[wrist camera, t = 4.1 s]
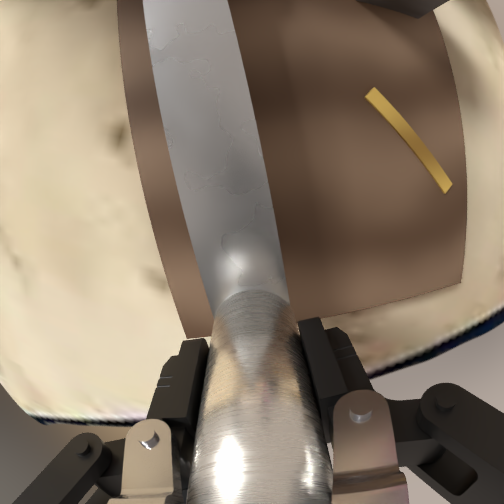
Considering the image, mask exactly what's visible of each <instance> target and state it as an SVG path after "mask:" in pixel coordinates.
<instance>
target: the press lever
mask: <svg viewBox="0 0 504 504" xmlns="http://www.w3.org/2000/svg"><path fill="white" fill-rule="evenodd" d="M143 7H144V15H145V23H146V30H147V37H148V44H149V50H150V57H151V63H152V69H153V74H154V80H155V86H156V91H157V96H158V102H159V107H160V112H161V117H162V122H163V127H164V131H165V136H166V141H167V145H168V150H169V154H170V159H171V163H172V168H173V172H174V176H175V180H176V185H177V189H178V193H179V197H180V201H181V205H182V209H183V213H184V216H185V220H186V224H187V228H188V232H189V235H190V239H191V243H192V246H193V250H194V254H195V257H196V261H197V264H198V268H199V271H200V275H201V278H202V281H203V285H204V288H205V291H206V295H207V298H208V301H209V305H210V308H211V311H212V314H213V317H214V324H213V330H212V336H211V342H210V347H209V353H208V359H207V365H206V371H205V377H204V383H203V389H202V396H201V402H200V408H199V415H198V421H197V428H196V435H195V441H194V448H193V455H192V462H191V470H190V477H189V484H188V492H187V500H186V504H332V485H333V469H332V464H331V460H330V456H329V451H328V447H327V443H326V438H325V434H324V430H323V426H322V422H321V418H320V413H319V409H318V405H317V401H316V397H315V393H314V389H313V385H312V381H311V377H310V373H309V369H308V366H307V362H306V358H305V354H304V350H303V346H302V342H301V339H300V335H299V331H298V327H297V324H296V320H295V316H294V313H293V310H292V308H291V307H290V301H289V295H288V289H287V283H286V277H285V271H284V265H283V260H282V254H281V248H280V243H279V237H278V232H277V226H276V221H275V215H274V210H273V205H272V199H271V194H270V189H269V184H268V179H267V174H266V169H265V164H264V159H263V154H262V149H261V144H260V139H259V134H258V130H257V125H256V120H255V116H254V111H253V106H252V102H251V97H250V93H249V88H248V84H247V79H246V75H245V71H244V66H243V62H242V58H241V54H240V49H239V45H238V41H237V37H236V33H235V29H234V25H233V21H232V17H231V13H230V9H229V5H228V1H227V0H143Z"/></svg>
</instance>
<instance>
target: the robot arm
mask: <svg viewBox="0 0 504 504" xmlns="http://www.w3.org/2000/svg"><path fill="white" fill-rule="evenodd" d="M298 327H299V333H300V339H301V342H302V346H303V350H304V354H305V358H306V362H307V366H308V369H309V373H310V377H311V381H312V385H313V389H314V393H315V397H316V401H317V405H318V409H319V413H320V418H321V422H322V426H323V430H324V434H325V438H326V443H330V442H331V444H332V448H333V452H334V454H333V459H334V460H333V485H332V504H409V498H408V488H407V482H406V477H405V475H404V473H403V472H400V470H399V467H404V466H407V467H408V468H409V469H410V470H411V471H412V472H413V473H415V474H416V475H417V476H418V477H419V478H420V479H422V480H423V481H424V482H425V483H426V484H428V485H429V486H430V487H431V488H432V489H434V490H435V491H436V492H437V493H438V494H440V495H441V496H442V497H443V498H445V499H446V500H447V501H448V502H450V503H451V504H504V413H502V412H501V411H498V410H497V409H496V408H494V407H492V406H491V405H489V404H488V403H486V402H484V401H483V400H481V399H479V398H478V397H476V396H475V395H473V394H471V393H470V392H468V391H466V390H465V389H463V388H461V387H460V386H458V385H455V384H452V383H440V384H436V385H434V386H432V387H430V388H429V389H427V391H426V392H425V393H424V394H423V396H422V398H421V399H413V400H403V401H396V400H390V399H386V398H384V397H383V396H382V395H381V394H379V393H377V392H376V391H375V390H374V389H373V387H372V385H371V383H370V381H369V379H368V377H367V374H366V372H365V370H364V368H363V366H362V364H361V362H360V360H359V358H358V356H357V355H356V352H355V349H354V347H352V343H351V341H350V339H349V337H348V335H347V334H346V333H344V332H343V331H342V330H340V329H339V328H337V327H335V328H331V329H327V330H324V327H323V325H322V322H321V320H320V318H319V316H318V317H314V318H310V319H305V320H300V321H298ZM208 353H209V347H208V344H207V342H206V340H205V339H204V338H200V339H193V340H186V341H183V342H182V345H181V348H180V351H179V355H177V356H171V358H170V359H169V360H168V361H167V362H166V363H165V365H164V366H163V368H162V371H161V374H160V379H159V380H158V383H157V388H156V389H155V393H154V396H153V399H152V402H151V405H150V408H149V411H148V415H147V418H146V420H143V421H141V422H139V423H137V424H136V425H134V426H133V427H132V428H131V429H130V430H129V432H128V433H127V436H126V438H124V439H120V440H115V441H110V442H105V443H104V442H103V441H102V440H101V439H100V438H99V437H98V436H97V435H95V434H93V433H82V434H79V435H77V436H76V437H74V438H73V439H72V440H71V441H70V442H69V443H68V444H67V445H66V446H65V447H64V449H63V450H62V451H61V452H60V453H59V454H58V455H57V456H56V457H55V458H54V459H53V460H52V461H51V462H50V463H49V465H48V466H47V467H46V468H45V469H44V470H43V471H42V472H41V473H40V474H39V475H38V476H37V478H36V479H35V480H34V481H33V482H32V483H31V484H30V485H29V486H28V487H27V488H26V489H25V491H24V492H23V493H22V494H21V495H20V496H19V497H18V498H17V499H16V500H15V501H14V502H13V503H12V504H78V503H79V501H80V500H81V499H82V498H83V497H84V495H85V494H86V493H87V492H88V491H89V490H90V488H91V487H92V486H93V485H96V486H97V487H98V489H97V490H96V492H95V493H94V494H93V495H92V497H91V498H90V499H89V500H88V501H87V502H86V504H186V500H187V492H188V484H189V477H190V470H191V462H192V455H193V448H194V441H195V435H196V428H197V421H198V415H199V408H200V402H201V396H202V389H203V383H204V377H205V371H206V365H207V359H208Z"/></svg>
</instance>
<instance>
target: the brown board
mask: <svg viewBox="0 0 504 504" xmlns="http://www.w3.org/2000/svg"><path fill="white" fill-rule="evenodd" d="M227 1H228V5H229V9H230V13H231V17H232V21H233V25H234V29H235V33H236V37H237V41H238V45H239V49H240V54H241V58H242V62H243V66H244V71H245V75H246V79H247V84H248V88H249V93H250V97H251V102H252V106H253V111H254V116H255V120H256V125H257V130H258V134H259V139H260V144H261V149H262V154H263V159H264V164H265V169H266V174H267V179H268V184H269V189H270V194H271V199H272V205H273V210H274V215H275V221H276V226H277V232H278V237H279V243H280V248H281V254H282V260H283V265H284V271H285V277H286V283H287V289H288V295H289V301H290V307H291V308H292V310H293V313H294V316H295V320H296V323H298V321H300V320H305V319H310V318H314V317H318V316H319V318H320V319H321V318H325V317H330V316H335V315H340V314H344V313H349V312H354V311H358V310H362V309H367V308H371V307H375V306H379V305H383V304H387V303H391V302H395V301H399V300H403V299H406V298H410V297H414V296H417V295H421V294H425V293H428V292H431V291H435V290H438V289H442V288H445V287H448V286H451V285H455V284H458V283H461V278H462V271H463V262H464V253H465V241H466V223H467V174H466V157H465V145H464V136H463V128H462V120H461V114H460V107H459V102H458V96H457V91H456V86H455V82H454V77H453V73H452V69H451V65H450V61H449V57H448V54H447V50H446V47H445V44H444V40H443V37H442V34H441V31H440V28H439V25H438V22H437V20H436V17H435V14H434V12H433V10H434V9H435V8H437V7H439V6H440V5H442V4H444V3H445V2H447V1H449V0H227ZM117 11H118V29H119V42H120V54H121V63H122V72H123V81H124V88H125V96H126V102H127V109H128V115H129V122H130V127H131V133H132V139H133V144H134V149H135V154H136V159H137V164H138V169H139V174H140V178H141V183H142V187H143V192H144V196H145V200H146V204H147V208H148V213H149V216H150V220H151V224H152V228H153V232H154V236H155V239H156V243H157V247H158V250H159V254H160V257H161V261H162V264H163V267H164V271H165V274H166V277H167V281H168V284H169V287H170V290H171V293H172V296H173V299H174V302H175V305H176V308H177V311H178V314H179V317H180V320H181V323H182V326H183V329H184V332H185V334H186V337H187V339H190V338H199V337H208V336H212V330H213V324H214V317H213V314H212V311H211V308H210V305H209V301H208V298H207V295H206V291H205V288H204V285H203V281H202V278H201V275H200V271H199V268H198V264H197V261H196V257H195V254H194V250H193V246H192V243H191V239H190V235H189V232H188V228H187V224H186V220H185V216H184V213H183V209H182V205H181V201H180V197H179V193H178V189H177V185H176V180H175V176H174V172H173V168H172V163H171V159H170V154H169V150H168V145H167V141H166V136H165V131H164V127H163V122H162V117H161V112H160V107H159V102H158V96H157V91H156V86H155V80H154V74H153V69H152V63H151V57H150V50H149V44H148V37H147V30H146V23H145V15H144V7H143V0H117Z"/></svg>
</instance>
